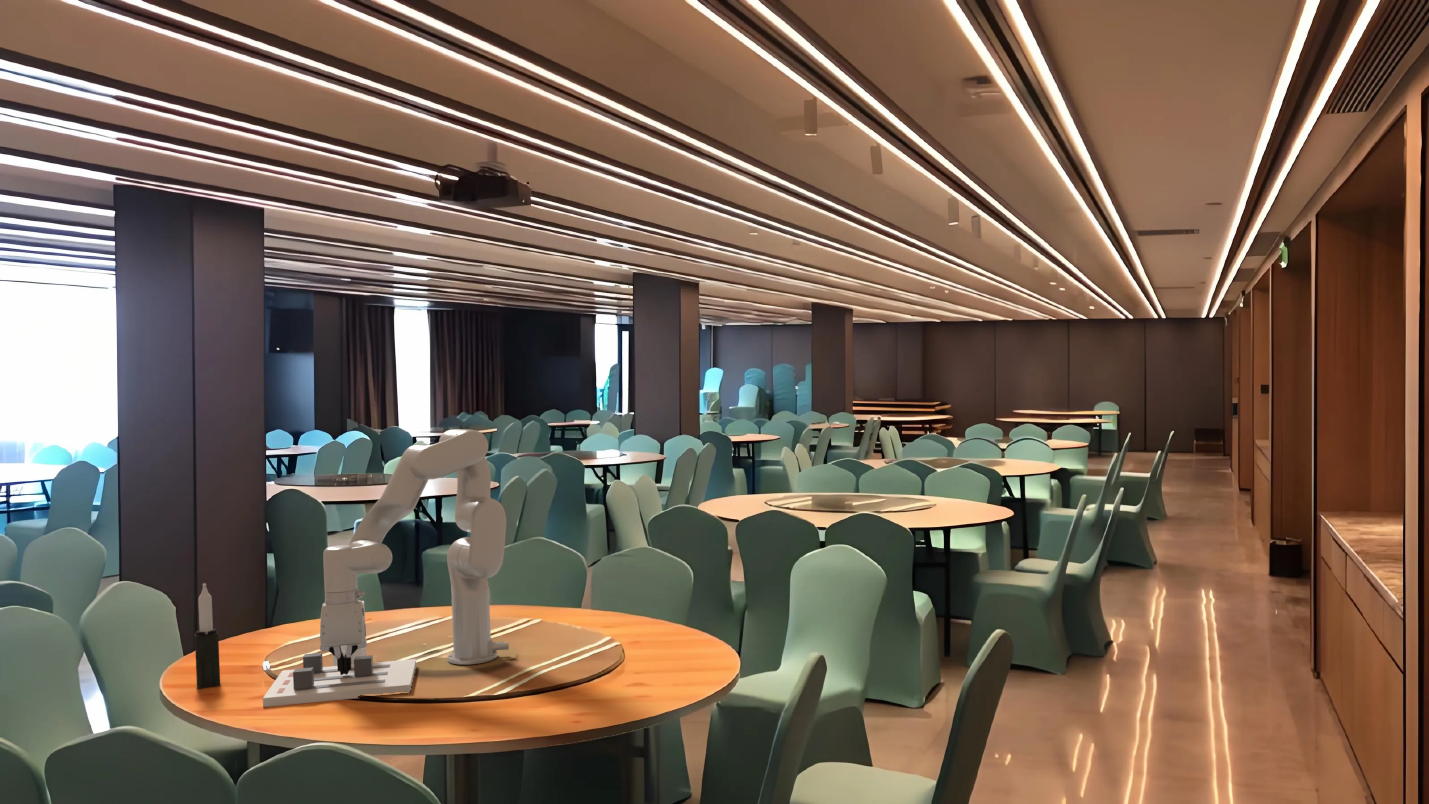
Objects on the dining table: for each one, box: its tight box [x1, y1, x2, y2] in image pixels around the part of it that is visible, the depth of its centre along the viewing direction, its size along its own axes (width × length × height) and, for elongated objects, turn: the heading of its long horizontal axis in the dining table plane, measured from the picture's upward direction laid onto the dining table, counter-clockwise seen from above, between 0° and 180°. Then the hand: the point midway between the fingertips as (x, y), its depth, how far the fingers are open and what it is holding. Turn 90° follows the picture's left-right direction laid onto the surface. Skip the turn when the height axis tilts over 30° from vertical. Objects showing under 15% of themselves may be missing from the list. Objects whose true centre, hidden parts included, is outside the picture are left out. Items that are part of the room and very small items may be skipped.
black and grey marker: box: [194, 582, 221, 690], centre depth 256 cm, size 5×5×25 cm
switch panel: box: [262, 652, 417, 708], centre depth 252 cm, size 32×24×6 cm
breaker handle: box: [354, 654, 374, 676], centre depth 253 cm, size 4×3×4 cm
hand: (344, 673), depth 252 cm, fingers closed
